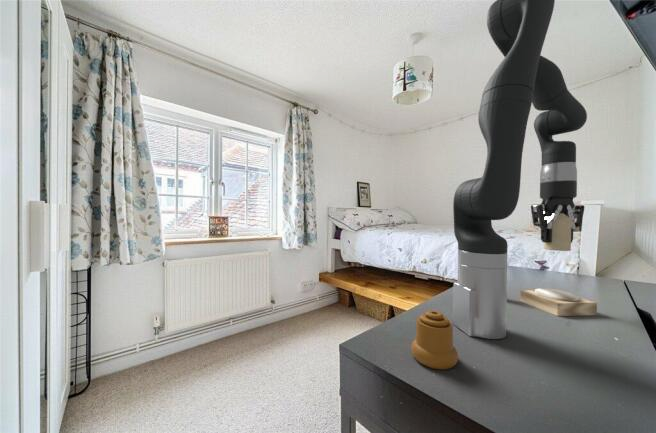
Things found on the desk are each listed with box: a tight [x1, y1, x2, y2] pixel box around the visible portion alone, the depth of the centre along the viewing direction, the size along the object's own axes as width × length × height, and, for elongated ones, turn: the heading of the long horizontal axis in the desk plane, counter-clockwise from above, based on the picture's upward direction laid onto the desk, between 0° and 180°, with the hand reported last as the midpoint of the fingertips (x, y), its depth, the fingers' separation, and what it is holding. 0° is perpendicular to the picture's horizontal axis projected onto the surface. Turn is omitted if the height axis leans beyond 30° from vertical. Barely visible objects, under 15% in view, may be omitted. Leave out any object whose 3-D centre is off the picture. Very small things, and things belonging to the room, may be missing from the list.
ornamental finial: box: [410, 309, 459, 370], centre depth 44 cm, size 8×8×8 cm
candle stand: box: [519, 287, 598, 317], centre depth 70 cm, size 11×11×4 cm
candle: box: [543, 213, 572, 252], centre depth 69 cm, size 6×6×10 cm
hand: (556, 242), depth 69 cm, fingers closed on candle, 5 cm apart
